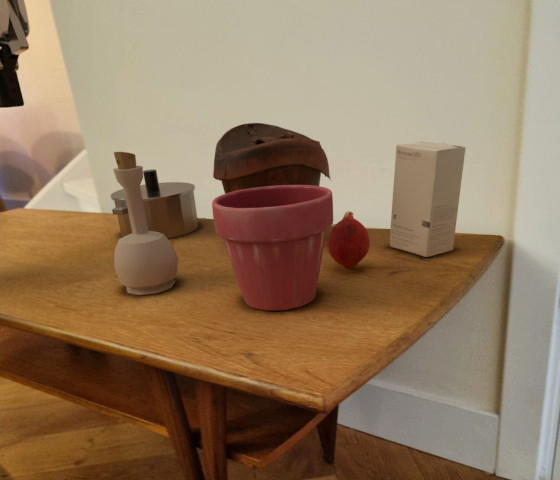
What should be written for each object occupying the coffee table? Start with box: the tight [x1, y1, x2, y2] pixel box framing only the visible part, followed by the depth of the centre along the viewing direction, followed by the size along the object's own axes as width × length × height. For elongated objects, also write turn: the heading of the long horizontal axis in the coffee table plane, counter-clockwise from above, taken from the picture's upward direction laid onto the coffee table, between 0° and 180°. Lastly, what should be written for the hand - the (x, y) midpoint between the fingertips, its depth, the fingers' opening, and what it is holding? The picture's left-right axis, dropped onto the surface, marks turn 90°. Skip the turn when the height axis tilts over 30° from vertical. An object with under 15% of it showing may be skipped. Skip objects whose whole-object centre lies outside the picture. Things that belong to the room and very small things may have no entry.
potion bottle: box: [112, 151, 179, 296], centre depth 74 cm, size 9×9×18 cm
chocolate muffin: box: [212, 122, 332, 194], centre depth 90 cm, size 18×20×18 cm
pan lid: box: [110, 169, 196, 202], centre depth 102 cm, size 16×16×5 cm
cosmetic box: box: [389, 141, 466, 258], centre depth 80 cm, size 8×6×15 cm
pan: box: [111, 190, 199, 240], centre depth 105 cm, size 15×20×7 cm
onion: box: [327, 210, 371, 270], centre depth 76 cm, size 6×6×8 cm
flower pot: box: [211, 185, 334, 311], centre depth 67 cm, size 14×14×13 cm
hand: (10, 106), depth 70 cm, fingers closed
